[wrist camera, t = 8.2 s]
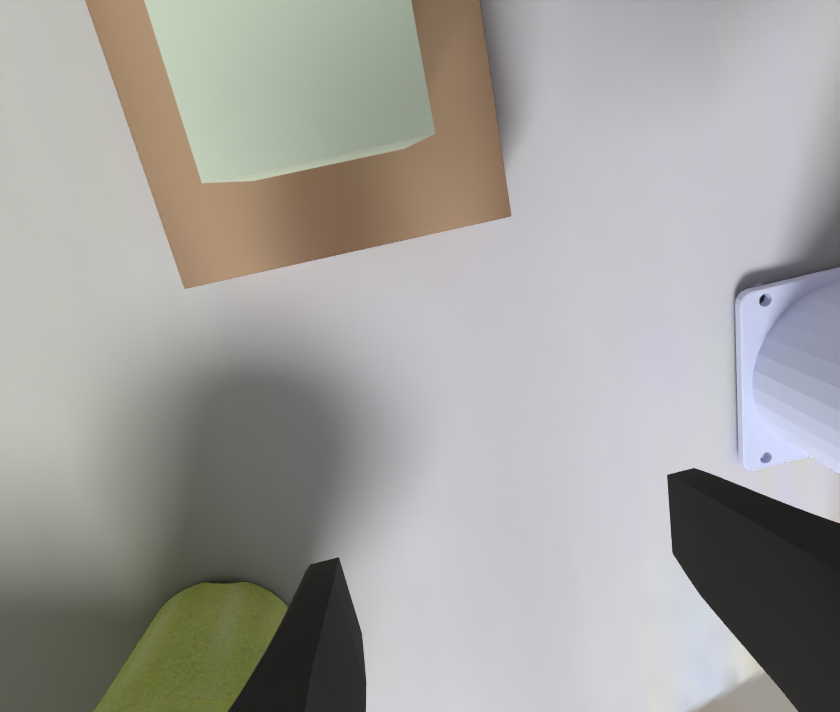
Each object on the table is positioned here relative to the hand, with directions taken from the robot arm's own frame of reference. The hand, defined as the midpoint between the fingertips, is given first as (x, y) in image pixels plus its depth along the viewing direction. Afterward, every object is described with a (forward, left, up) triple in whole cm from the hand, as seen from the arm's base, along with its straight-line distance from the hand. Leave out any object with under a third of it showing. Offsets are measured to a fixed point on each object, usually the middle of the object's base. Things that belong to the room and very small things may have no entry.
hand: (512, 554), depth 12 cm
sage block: (+2, -11, -7) cm, 13 cm away
